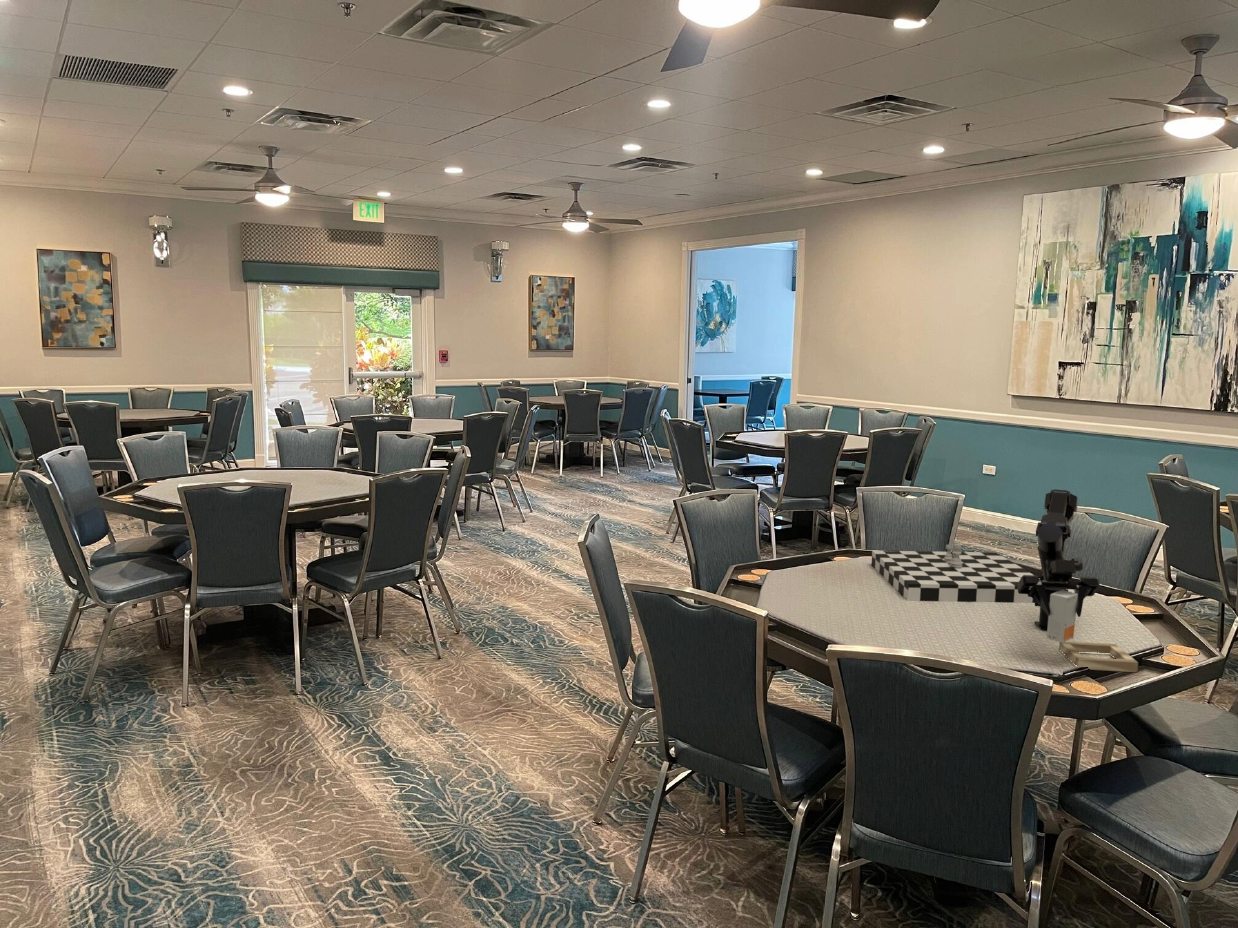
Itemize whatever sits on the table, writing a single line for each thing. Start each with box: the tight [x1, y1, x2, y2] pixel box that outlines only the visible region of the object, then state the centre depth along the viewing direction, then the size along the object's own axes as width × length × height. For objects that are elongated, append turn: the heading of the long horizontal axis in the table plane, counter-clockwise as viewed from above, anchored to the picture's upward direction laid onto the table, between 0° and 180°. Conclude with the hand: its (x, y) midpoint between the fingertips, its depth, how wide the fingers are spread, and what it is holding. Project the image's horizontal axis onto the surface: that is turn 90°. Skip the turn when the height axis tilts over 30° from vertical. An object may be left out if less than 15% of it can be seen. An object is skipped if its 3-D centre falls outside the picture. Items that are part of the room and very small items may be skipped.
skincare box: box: [1046, 590, 1078, 643], centre depth 230 cm, size 6×4×12 cm
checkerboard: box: [871, 541, 1040, 604], centre depth 307 cm, size 45×45×15 cm
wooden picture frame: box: [1058, 641, 1139, 673], centre depth 234 cm, size 14×14×2 cm
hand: (1064, 615), depth 229 cm, fingers closed on skincare box, 7 cm apart
